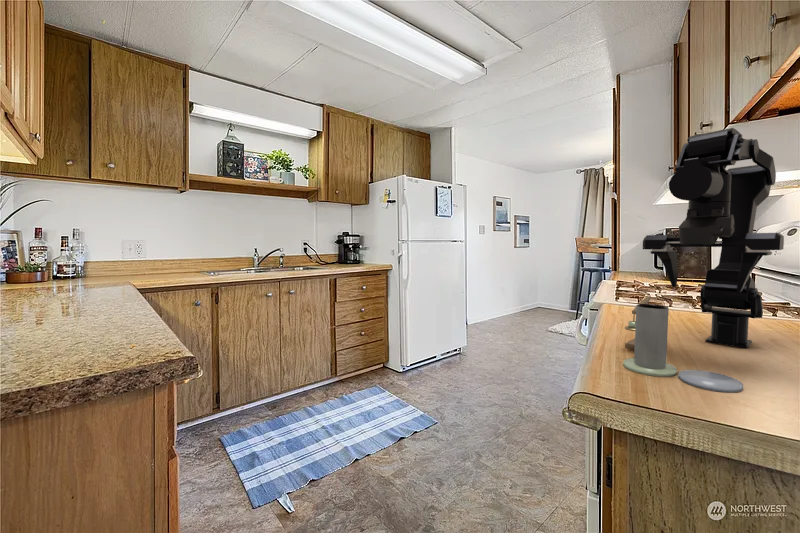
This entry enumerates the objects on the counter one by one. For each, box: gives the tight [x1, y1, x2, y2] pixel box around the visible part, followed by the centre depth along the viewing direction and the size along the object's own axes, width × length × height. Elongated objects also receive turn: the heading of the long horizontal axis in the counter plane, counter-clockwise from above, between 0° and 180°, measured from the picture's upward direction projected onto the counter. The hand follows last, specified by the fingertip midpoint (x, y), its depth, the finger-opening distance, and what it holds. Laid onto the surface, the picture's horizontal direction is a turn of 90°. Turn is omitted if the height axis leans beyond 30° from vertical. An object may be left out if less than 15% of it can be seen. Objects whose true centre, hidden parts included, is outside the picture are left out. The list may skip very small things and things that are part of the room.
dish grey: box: [677, 369, 744, 394], centre depth 56 cm, size 8×8×1 cm
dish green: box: [623, 357, 678, 378], centre depth 62 cm, size 8×8×1 cm
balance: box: [624, 295, 652, 351], centre depth 74 cm, size 11×4×10 cm, turn 128°
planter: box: [633, 303, 670, 369], centre depth 61 cm, size 4×4×10 cm
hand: (705, 289), depth 66 cm, fingers open, 9 cm apart
